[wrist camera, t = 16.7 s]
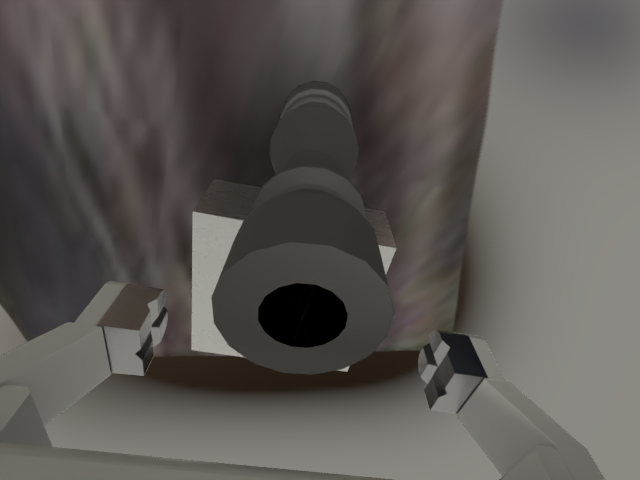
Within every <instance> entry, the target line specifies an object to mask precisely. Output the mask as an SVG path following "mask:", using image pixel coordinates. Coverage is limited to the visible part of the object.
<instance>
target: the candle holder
mask: <svg viewBox="0 0 640 480" xmlns="http://www.w3.org/2000/svg"><path fill="white" fill-rule="evenodd" d="M352 126H353V122H352V118H351V114H350V110H349V106H348V103H347V100H346V99H345V97H344V96H343V95H342V93H341V92H340V91H339V89H337V88H335V87H333V86H332V85H330V84H328V83H326V82H317V81H311V82H308V83H305V84H302V85H300V86H298V87H297V88H296V89H295V90H294V91H293V92H292V93H291V94H290V95H289V97H288V99H287V101H286V103H285V105H284V108H283V110H282V112H281V115H280V121H279V122H278V124H277V126H276V128H275V130H274V133H273V135H272V137H271V139H270V159H271V162H272V166H273V169H274V173H275V175H274V176H273V177H272V178H270V179H269V180H268V181H267V182H266V183H264V184H263V186H262V188H261V191H260V193H259V195H258V197H257V199H256V201H255V203H254V211H253V212H251V213H250V214H249V215H248V216H246V217H245V219H244V221H243V223H242V225H241V227H240V229H239V231H238V233H237V235H236V237H235V239H234V242H233V244H232V247H231V249H230V252H229V254H228V257H227V259H226V262H225V264H224V267H223V269H222V272H221V274H220V277H219V280H218V282H217V285H216V287H215V290H214V292H213V295H212V297H211V298H212V309H213V319H214V324H215V326H216V327H217V329H218V330H219V332H220V333H221V335H222V336H223V338H224V339H225V341H226V342H227V344H228V345H229V346H230V347H231V348H233V349H234V350H235V351H237V352H238V353H240V354H241V355H242V356H244V357H245V358H247V359H248V360H250V361H251V362H252V363H256V364H258V365H261V366H265V367H267V368H270V369H273V370H276V371H280V372H284V373H285V372H286V373H299V374H318V373H324V372H329V371H335V370H340V369H344V368H346V367H348V366H350V365H352V364H354V363H356V362H358V361H360V360H361V359H364V358H366V357H368V356H369V355H370V354H371V353H372V352H373V351H374V350H375V349H376V348H377V347H378V346H379V345H380V344H381V342H382V341H383V340H384V339H385V338H386V337H387V335H388V332H389V329H390V325H391V322H392V319H393V315H394V308H393V304H392V299H391V295H390V291H389V287H388V283H387V278H386V274H385V270H384V266H383V262H382V257H381V253H380V249H379V245H378V241H377V237H376V233H375V229H374V228H373V227H372V226H371V225H370V224H369V222H368V221H367V220H366V212H365V208H364V204H363V201H362V197H361V193H360V192H359V191H358V190H357V188H356V187H355V186H354V185H353V184H352V182H351V181H350V178H351V176H352V174H353V172H354V170H355V167H356V164H357V158H358V152H359V147H358V143H357V139H356V134H355V130H354V128H353V127H352Z"/></svg>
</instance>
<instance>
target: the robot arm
mask: <svg viewBox="0 0 640 480" xmlns="http://www.w3.org/2000/svg"><path fill="white" fill-rule="evenodd" d="M166 301H167V293H166V291H165V290H164V289H158V288H152V287H146V286H141V285H135V284H127V283H121V282H115V281H109V282H107V283H106V284H104V286H103V287H102V288H101V289H100V291H99V292H98V293H97V294H96V296H95V297H94V298H93V299H92V301H91V302H90V303H89V304H88V306H87V307H86V308H85V309H84V311H83V312H82V313H81V314H80V316H79V317H78V318H77V319H76V321H75V322H74V323H70V322H67V323H65V324H63V325H61V326H59V327H57V328H55V329H53V330H51V331H49V332H47V333H45V334H43V335H41V336H39V337H37V338H35V339H32V340H30V341H28V342H26V343H24V344H22V345H20V346H18V347H16V348H14V349H12V350H10V351H8V352H6V353H4V354H2V355H0V480H392V479H381V478H372V477H361V476H351V475H340V474H329V473H319V472H308V471H298V470H288V469H277V468H267V467H256V466H246V465H235V464H224V463H214V462H204V461H193V460H183V459H172V458H162V457H151V456H141V455H130V454H119V453H110V452H99V451H88V450H78V449H67V448H57V447H53V446H52V443H51V441H50V438H49V436H48V433H47V431H46V429H45V425H47V424H48V423H49V422H51V421H52V420H53V419H54V418H56V417H57V416H58V415H59V414H61V413H62V412H63V411H65V410H66V409H67V408H69V407H70V406H71V405H72V404H74V403H75V402H76V401H78V400H79V399H80V398H81V397H83V396H84V395H85V394H87V393H88V392H89V391H91V390H92V389H93V388H94V387H96V386H97V385H98V384H99V383H101V382H102V381H103V380H105V379H106V378H107V377H109V376H110V375H111V373H119V374H130V375H141V376H144V375H145V373H146V371H147V369H148V366H149V364H150V362H151V360H152V358H153V356H154V350H153V347H154V346H156V345H157V344H159V343H160V342H161V340H162V337H163V335H164V332H165V329H166V326H167V319H168V311H167V309H166V308H165V307H164V305H165V303H166ZM428 339H429V342H430V343H429V344H428V345H426V346H424V347H423V348H422V350H421V352H420V354H419V361H418V367H419V373H420V376H421V378H422V379H423V380H424V381H425V382H426V383H427V386H426V388H425V390H424V391H425V394H426V398H427V401H428V405H429V408H430V410H431V411H438V412H444V413H451V414H457V415H456V416H457V417H458V419H459V420H460V421H461V423H462V424H463V425H464V427H465V428H466V429H467V430H468V432H469V433H470V434H471V436H472V437H473V438H474V439H475V441H476V442H477V443H478V445H479V446H480V447H481V449H482V450H483V451H484V452H485V454H486V455H487V456H488V458H489V459H490V460H491V462H492V463H493V464H494V465H495V467H496V468H497V469H498V471H499V472H500V473H501V474H502V476H503V477H502V478H501V479H499V480H605V478H604V477H603V475H602V473H601V472H600V470H599V468H598V467H597V465H596V463H595V462H594V460H593V458H592V457H591V455H590V454H589V452H588V450H587V449H586V448H585V447H584V446H583V445H582V444H580V443H579V442H578V441H577V440H576V439H575V438H574V437H572V436H571V435H570V434H569V433H568V432H567V431H565V430H564V429H563V428H562V427H561V426H560V425H559V424H558V423H556V422H555V421H554V420H553V419H552V418H551V417H550V416H549V415H547V414H546V413H545V412H544V411H543V410H542V409H541V408H539V407H538V406H537V405H536V404H535V403H534V402H533V401H531V400H530V399H529V398H528V397H527V396H526V395H525V394H524V393H522V392H521V391H520V390H519V389H518V388H517V387H516V386H515V385H513V384H512V383H511V382H508V381H505V379H504V377H503V375H502V373H501V371H500V369H499V367H498V365H497V363H496V361H495V359H494V357H493V355H492V353H491V351H490V349H489V347H488V345H487V344H486V342H485V340H484V339H483V338H482V337H481V336H477V335H470V334H462V333H454V332H448V331H440V330H434V331H432V332H431V334H430V335H429V337H428Z"/></svg>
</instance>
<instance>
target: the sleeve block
mask: <svg viewBox="0 0 640 480" xmlns="http://www.w3.org/2000/svg"><path fill="white" fill-rule="evenodd" d="M260 191H261V187H256V186H251V185H246V184H241V183H235V182H230V181H225V180H220V179H214V180H213V182H212V183H211V185H210V186H209V188H208V189H207V191H206V192H205V194H204V195H203V197H202V198H201V200H200V201H199V203H198V204H197V206H196V207H195V209H194V210H193V233H192V350H196V351H203V352H210V353H218V354H225V355H232V356H239V357H244V356H242V355H241V354H240V353H238V352H237V351H235V350H234V349H233V348H231V347H230V346H229V345H228V344H227V342H226V341H225V339H224V338H223V336H222V335H221V333H220V332H219V330H218V329H217V327H216V326H215V324H214V319H213V309H212V298H211V297H212V295H213V292H214V290H215V287H216V285H217V282H218V280H219V277H220V274H221V272H222V269H223V267H224V264H225V262H226V259H227V257H228V254H229V252H230V249H231V247H232V244H233V242H234V239H235V237H236V235H237V233H238V231H239V229H240V227H241V225H242V223H243V221H244V219H245V217H246V216H248V215H249V214H250V213H251V212H253V211H254V203H255V201H256V199H257V197H258V195H259V193H260ZM364 208H365V212H366V220H367V221H368V222H369V224H370V225H371V226H372V227H373V228H374V229H375V233H376V237H377V241H378V245H379V249H380V253H381V257H382V262H383V266H384V270H385V274H386V273H387V271H388V268H389V266H390V263H391V261H392V258H393V256H394V253H395V251H396V245H395V242H394V239H393V235H392V232H391V229H390V226H389V223H388V219H387V216H386V213H385V211H381V210H376V209H371V208H366V207H364ZM348 368H349V366H348V367H346V368H344V369H340V370H339V371H346V372H347V371H348Z"/></svg>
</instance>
